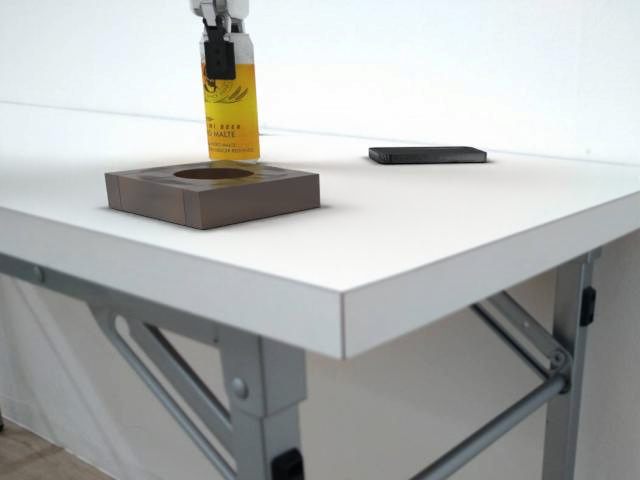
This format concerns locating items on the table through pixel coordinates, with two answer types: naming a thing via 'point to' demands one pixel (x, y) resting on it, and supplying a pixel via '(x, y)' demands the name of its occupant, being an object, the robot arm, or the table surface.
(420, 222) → the table surface
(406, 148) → the phone
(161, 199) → the can holder
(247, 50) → the beer can
